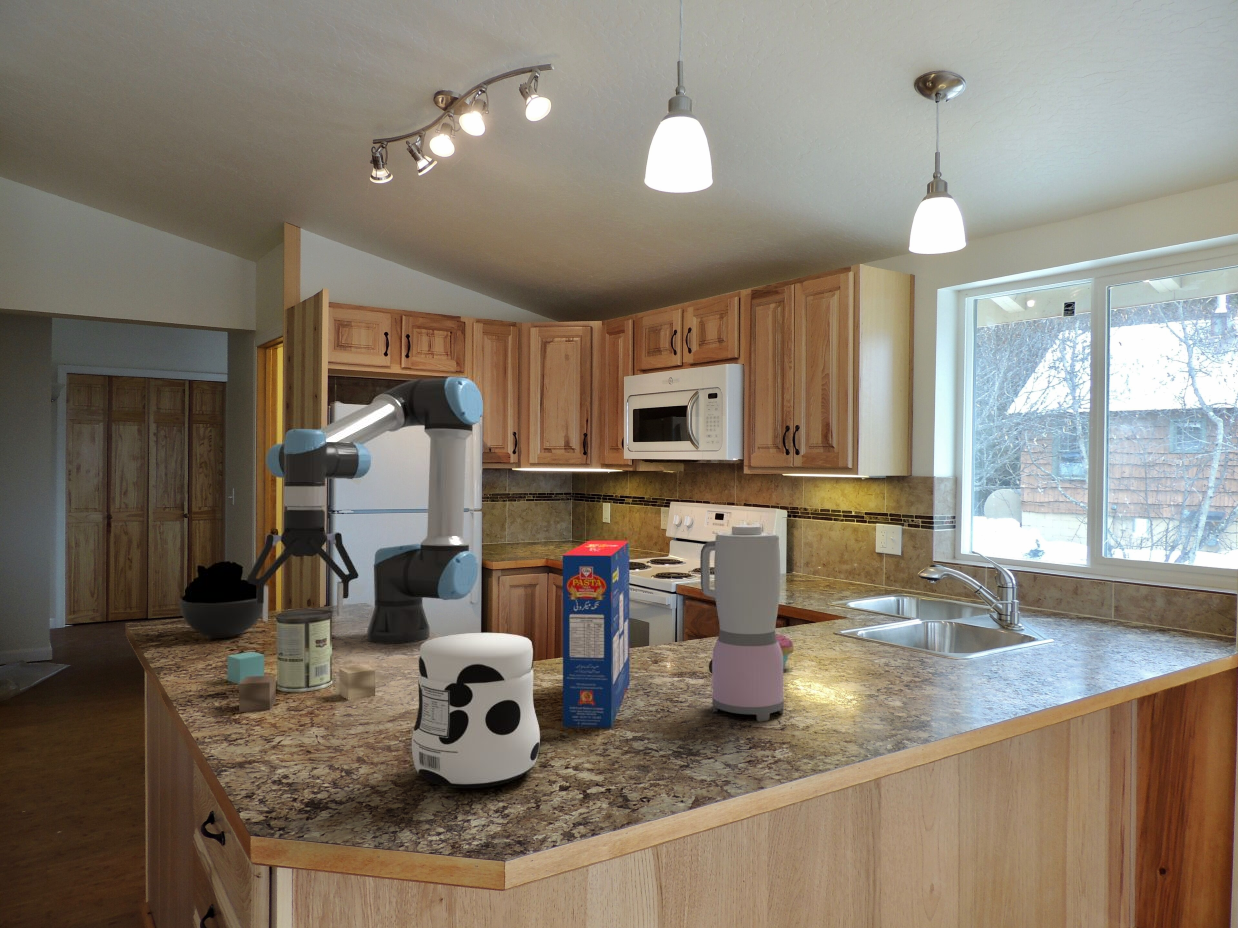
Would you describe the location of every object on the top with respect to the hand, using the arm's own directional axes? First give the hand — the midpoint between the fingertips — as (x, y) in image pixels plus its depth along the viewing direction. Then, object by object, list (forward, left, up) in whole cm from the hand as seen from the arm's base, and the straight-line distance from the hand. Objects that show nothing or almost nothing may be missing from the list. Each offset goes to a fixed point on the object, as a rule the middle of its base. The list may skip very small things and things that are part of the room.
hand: (303, 617), depth 160 cm
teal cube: (+10, -10, -13) cm, 19 cm away
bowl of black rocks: (+13, -59, -13) cm, 62 cm away
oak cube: (-8, +12, -13) cm, 20 cm away
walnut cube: (+9, +12, -13) cm, 20 cm away
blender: (-66, +52, -13) cm, 85 cm away
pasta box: (-46, +37, -13) cm, 61 cm away
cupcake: (-90, +30, -13) cm, 96 cm away
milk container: (-16, +61, -13) cm, 64 cm away
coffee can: (0, 0, -13) cm, 13 cm away
